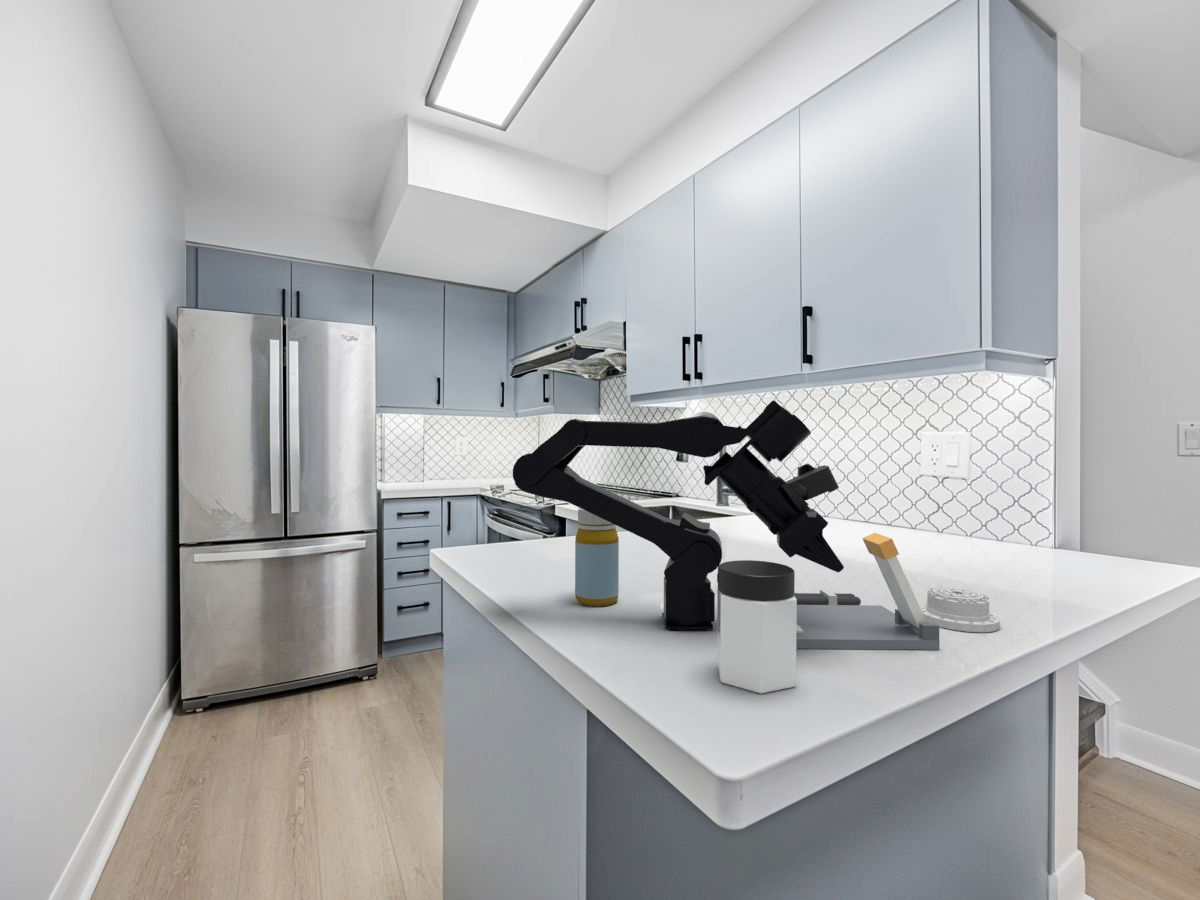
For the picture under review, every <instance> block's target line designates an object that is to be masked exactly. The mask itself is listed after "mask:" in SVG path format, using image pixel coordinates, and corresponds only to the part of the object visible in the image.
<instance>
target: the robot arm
mask: <svg viewBox="0 0 1200 900" xmlns="http://www.w3.org/2000/svg"><path fill="white" fill-rule="evenodd" d="M811 434H812V432H811V430H810V429H809V428H808V427H807V426H806V424H805V423H804V422H803V421H802V420H801V419H800V418H798V416H796V414H792V413H791V412H790V411H789V410H787V409H786V408H785V407H783V406H782V405H780V404H779V403H778V402H777V401H776V400H771V401H770V402H769V403H768V404H767V405H766V406H765V407H764V408H763V411H762V412H761V413H760V414H759V415H757V417H756V418H755V419H754V420H753V421H752V422H751V423H750V424H749V425H748V426H747V427H745V428H744V427H742V426H741V425H738V426H737V427H736V426H729V425H728V426H727V425H724V424H723V423H722V422H721V421H720V420H719V419H718V418H716V417H714V416H712V415H706V414H705V415H698V416H690V417H685V418H679V419H674V420H668V421H662V422H661V421H660V422H647V421H642V422H639V421H606V420H605V421H604V420H603V421H602V420H601V421H600V420H599V421H597V420H583V419H578V418H573V419H569V420H568V421H566V422H565V423H564V425H563V426H562V427H561V428H559V430H558V431H556V432H555V433H554V434H552V435H551V436H550V437H549V438H547V440H545V441H544V442H542V443H541V444H540V445H539V446H538V447H537V448H535V449H534V450H533V452H531V453H530V452H529V453H526V454H523V455H521V456H520V457H519V458H518V459H516V461H515V462H514V464H513V468H512V479H513V482H514V484H515V486H516V488H518V489H519V490H520V491H521V492H523V493H528V494H531V495H535V496H538V497H541V498H545V499H549V500H556V501H560V502H565V503H569V504H571V505H573V506H575V507H578V508H581V509H583V510H585V511H587V512H590V513H592V514H594V515H596V516H598V517H600V518H602V519H604V520H606V521H608V522H610V523H612V524H615V525H616V527H619V528H621V529H623V530H625V531H627V532H630V533H631V534H634V535H636V536H638V537H640V538H642V539H643V540H645V541H648V542H650V543H652V544H653V545H655V546H656V547H658V548H659V550H661V551H662V552H663V553H664V554H665V555H667V556H668V560H667V563H666V565H665V568H664V571H663V574H664V577H663V612H661V617H662V621H663V624H664V627H665V629H666V630H675V631H676V630H683V631H684V630H687V631H691V630H692V631H695V630H696V631H697V630H698V631H699V630H700V631H701V630H702V631H707V630H708V631H712V630H714V624H713V623H714V622H715V618H716V615H715V614H716V613H715V612H716V608H715V603H716V601H715V597H716V596H715V595H716V594H715V592H714V590H713V589H712V587H711V585H712V582H711V580H710V579H709V578H708V575H709V574H711V573H713V572H714V571H716V570H718V566H719V565H720V564H722V563H721V561H722V560H723V549H722V547H723V546H722V541H721V537H720V536H719V534H718V533H717V532H716V531H715V530H713V529H712V528H710V527H711V523H710V522H703V521H701V520H698V519H696V518H695V517H694V516H692V515H691V514H689V513H687V512H683V514H682V516H681V517H680V518H681V519H680V520H679V519H675V518H669V517H665V516H663V515H661V514H659V513H658V512H655V511H652V510H651V509H648V508H647V507H645V506H642V505H640V504H638V503H636V502H634V501H631V500H629V499H628V498H625V497H623V496H622V495H618V494H617V493H615V492H612V491H610V490H608V489H607V488H604V487H602V486H599V485H597V484H595V483H593V482H591V481H589V480H587V479H584V478H583V477H581V476H580V475H579V474H578V473H576V471H574V470H573V469H572V468H571V467H570V466H569V464H570V463H572V461H573V460H574V459H575V457H577V455H579V453H580V452H581V451H582V449H584V447H586V446H596V447H597V446H598V447H619V448H620V447H623V448H630V447H631V448H650V449H653V448H654V449H656V448H657V449H661V450H668V451H672V452H675V453H681V454H685V455H690V456H694V457H699V458H712V457H714V456H716V455H718V454H719V453H720V452H721V451H722V450H723V448H724V447H727V446H731V445H738V444H740V443H741V442H743V440H744V439H745V438H746V437H747V438H748V441H747V442H745V444H743V446H742V447H740V448H739V449H738V450H737V451H736V452H735V453H734V454H733V455H731V454H730V453H728V452H727V451H725V452H724V453H723V454H722V455H721V456H720V457H719V458H718V459H717V460H716V461H715V462H714V463H713V464H712V465H706V464H705V465H703V466H702V468H703V471H704V482H703V483H704V484H705V486H710V484H711V483H712V482H713V481H715V480H716V478H718V479H719V480H720V481H721V482H722V483H723V484H724V486H726V487H727V488H728V489H729V490H730V491H731V492H732V494H734V495H735V496H736V497H737V498H738V500H740V501H741V502H742V503H743V504H744V505H745V507H746V509H748V511H749V512H750V513H753V514H754V515H755V517H757V518H758V519H759V520H760V521H761V522H762V524H764V525H765V526H766V527H767V529H768V530H769V532H771V533H772V535H774V536H775V535H776V543H777V545H778V547H779V548H780V549H781V550H782V551H783V552H784V553H785V555H787V557H789V558H792V557H794V556H795V555H797V556H798V557H802V558H804V559H806V560H808V561H811V562H813V563H815V564H818V565H820V566H822V567H824V568H827V569H829V570H831V571H832V572H836V573H840V572H842V571H843V570H844V568H845V567H844V565H843V563H842V562H841V560H840V559H839V557H838V556H837V554H836V553H835V551H833V549H832V547H831V546H830V545H829V543H828V542H827V540H826V539H825V537H824V536H823V531H824V529H825V528H826V527H827V526H828V525H829V522H828V521H827V520H826V519H825V518H824V517H823V516H822V515H821V514H820V513H819V511H817V510H815V509H814V508H810V506H809V502H807V501H808V500H810V499H814V498H816V497H819V496H821V495H822V494H825V493H833V492H834V491H836V490H838V489H839V488H840V487H839V485H838V483H837V480H836V479H835V476H834V474H833V473H832V470H831V468H830V466H829V465H818V466H817V467H816V468H815V467H814V466H813V465H811V464H810V463H804V464H802V465H801V466H798V467H797V476H794V477H793V478H791V479H788V480H786V481H785V480H784V479H783V478H782V477H781V476H779V475H778V476H776V475H775V474H774V473H773V472H772V471H771V470H770V469H769V468H768V467H767V466H766V465H765V464H764V463H763V462H762V461H761V460H760V459H759V458H758V457H757V456H756V455H755V454H754V453H752V451H751V450H750V449H749V447H750V446H751V447H752V448H753V450H755V452H757V453H758V454H759V456H761V457H762V458H763V459H764V460H765V461H766V462H768V463H771V462H772V461H773V460H774V461H775V460H777V461H778V462H779V463H782V461H784V460H785V459H786V458H787V457H788V456H789V455H790V454H792V452H793V451H795V449H796V448H797V447H798V446H800V445H801V444H802V443H803V442H804V441H805V439H807V438H809V436H810V435H811Z"/></svg>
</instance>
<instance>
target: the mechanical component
mask: <svg viewBox="0 0 1200 900" xmlns="http://www.w3.org/2000/svg"><path fill="white" fill-rule="evenodd" d="M926 597H927V598H926V604H922V605H919V606H920V609H921V611H922V613H923V615H924V617H925V619H926V622H927V623H935V624H937V625H939V628H943V629H947V630H952V631H957V632H958V631H959V632H967V633H992V632H997V631H998V630H999V629H1000V627H1001V621H1000V620H1001V619H1000V617H998V616H997V615H996V614H993V613H991V612H990V597H989V596H987V595H986V594H983V593H981V592H977V591H973V590H969V589H963V588H956V587H947V586H946V587H941V586H940V587H936V588H934V587H930V588H929V590H927V596H926Z"/></svg>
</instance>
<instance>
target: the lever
mask: <svg viewBox="0 0 1200 900" xmlns="http://www.w3.org/2000/svg"><path fill="white" fill-rule="evenodd" d="M861 539H862V541H863V542H864V545H865V547H866V549H867V552H868V553H869V554H870V555H872V556H873V557H874V560H875V561H876V563H877V565H878V568H879V571H880V572H881V575H882V577H883V579H884V582H885V583H886V585H887V588H888V590H889V592H890V594H891V596H892V599H893V600H894V603H895V605H896V607H897V609H898V610H899V612H900V614H901V616H902V618H903V619H904V622H905V623H906V624H908V625H910V626H911V627H913V628H915V629H916V630H918V631H919V623H927V622H926V619H925V617H924V615H923V613H922V611H921V609H920V606H921V605H920V604H919V602H918V600H917V598H916V596H915V594H914V591H913V589H912V587H911V585H910V583H909V580H908V578H907V575H906V574H905V571H904V570H903V568H902V565H901V563H900V560H899V559H898V557H897V556H899V555H900V554H899V552H898V551H899V550H898V549H897V547H896V545H895V542H894V540H893V538H891V537H889V536H885V535H882V534H880V533H876V532H873V533H871V534H869V535H867V536H864V537H862V538H861Z"/></svg>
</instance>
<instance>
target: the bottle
mask: <svg viewBox="0 0 1200 900" xmlns="http://www.w3.org/2000/svg"><path fill="white" fill-rule="evenodd" d="M577 522H578V523H577V527H578V528H577V529H578V530H577V532H576V534H575V542H574V543H575V544H574V547H575V548H574V550H575V551H574V553H575V554H574V555H575V557H574V568H575V571H574V573H575V574H574V580H575V583H574V589H575V590H574V593H575V595H574V596H575V600H576V601H577V602H578V603H579V604H580V603H581V605H583V606H586V607H607V606H611V605H613V603H614V604H615V603H616V602H617V600H618V599H619V590H620V589H619V583H620V581H619V577H620V576H619V575H620V574H619V573H620V569H619V567H620V566H619V565H620V564H619V559H620V557H619V554H620V552H619V550H620V548H619V547H620V545H619V543H620V541H619V540H620V539H619V534H618V531H617V529H616V528H617V525H615V524H612V523H610V522H608V521H606V520H604V519H602V518H600V517H598V516H596V515H594V514H592V513H590V512H587V511H585V510H583V509H581V508H579V507H578V509H577Z"/></svg>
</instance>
